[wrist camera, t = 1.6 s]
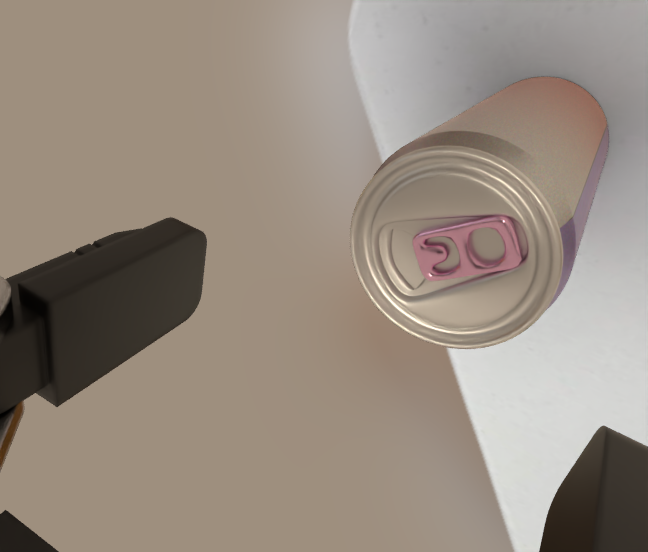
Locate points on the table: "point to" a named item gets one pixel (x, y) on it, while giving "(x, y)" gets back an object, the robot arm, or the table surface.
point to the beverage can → (482, 215)
